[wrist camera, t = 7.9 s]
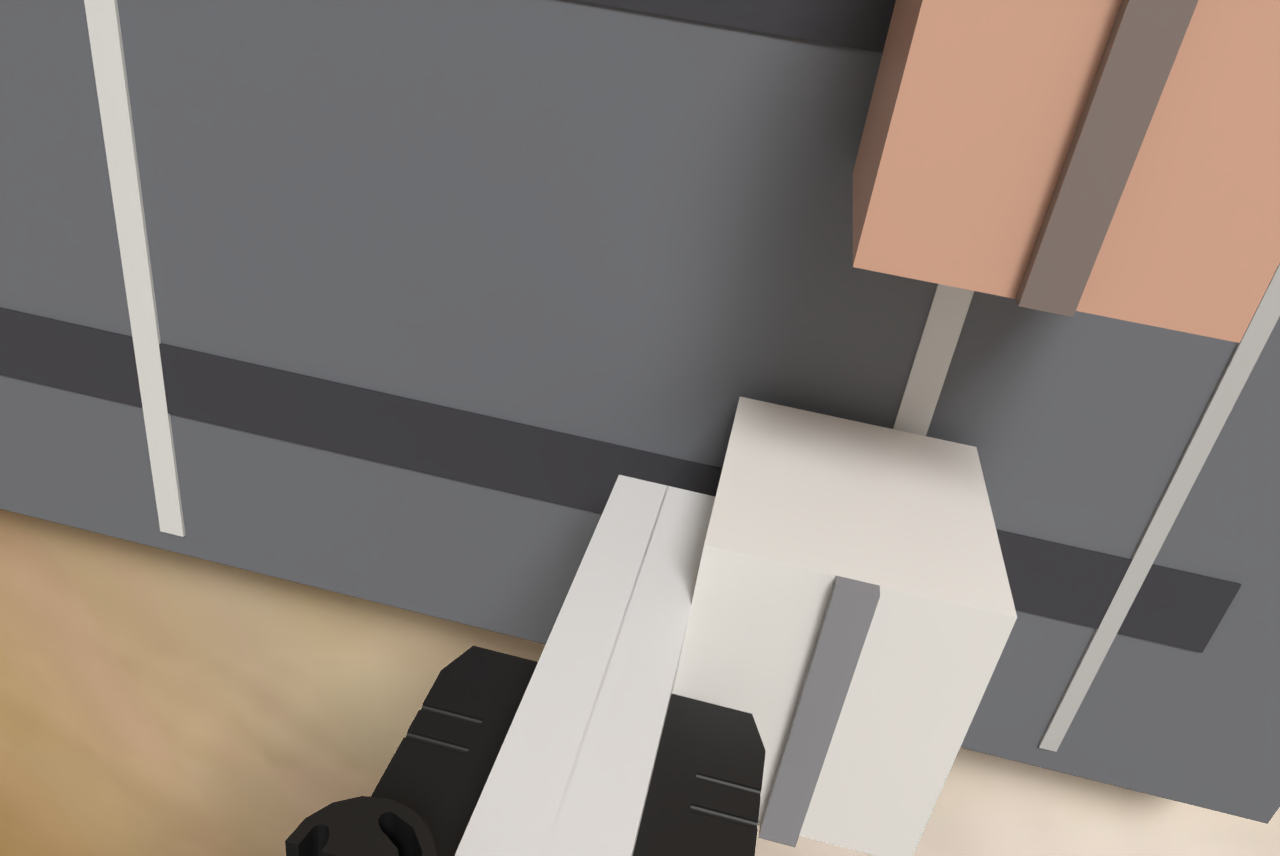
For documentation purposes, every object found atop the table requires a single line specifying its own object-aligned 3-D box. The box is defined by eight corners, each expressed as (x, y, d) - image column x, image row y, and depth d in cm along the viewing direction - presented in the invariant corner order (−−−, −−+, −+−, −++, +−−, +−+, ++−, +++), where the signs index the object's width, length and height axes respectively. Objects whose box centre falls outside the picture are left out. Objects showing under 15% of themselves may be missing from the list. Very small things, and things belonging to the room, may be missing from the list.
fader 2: (853, 173, 12) (852, 273, 9) (951, -222, 10) (1004, -304, 7) (1128, 225, 12) (1248, 350, 8) (1291, -176, 10) (1543, -234, 6)
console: (-206, 394, 22) (-300, 436, 20) (-539, -557, 14) (-744, -628, 12) (1227, 738, 18) (1268, 826, 16) (1866, -265, 10) (2076, -306, 9)
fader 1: (693, 615, 17) (647, 808, 13) (739, 396, 14) (701, 554, 11) (896, 663, 16) (909, 877, 12) (976, 446, 14) (1019, 628, 10)
